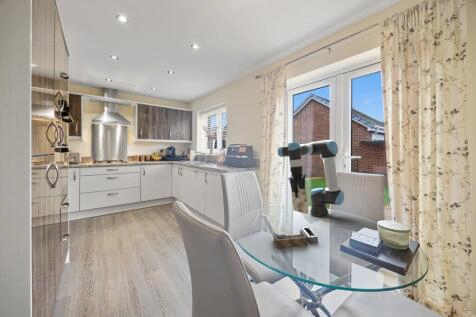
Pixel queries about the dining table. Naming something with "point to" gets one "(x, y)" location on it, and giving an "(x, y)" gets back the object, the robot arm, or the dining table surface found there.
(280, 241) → the rack
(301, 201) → the beige flat slab
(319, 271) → the dining table surface
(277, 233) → the offcut upper
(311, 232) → the stand
